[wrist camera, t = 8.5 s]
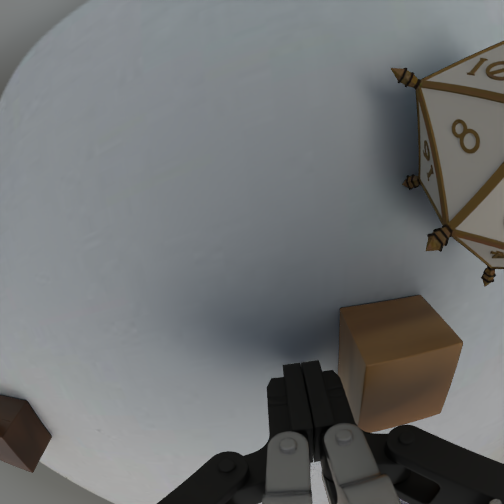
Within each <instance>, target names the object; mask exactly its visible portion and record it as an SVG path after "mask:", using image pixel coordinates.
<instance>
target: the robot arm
mask: <svg viewBox="0 0 504 504" xmlns="http://www.w3.org/2000/svg"><path fill="white" fill-rule="evenodd" d="M283 374H284V377H280V378H271V380H270V382H269V384H268V386H267V398H268V415H269V432H270V436H269V440H268V442H267V443H266V445H265V446H264V447H263V448H261V449H260V450H258V451H256V452H254V453H251V454H248V455H245V456H242V455H241V454H239V453H236V452H229V451H227V452H222V453H219V454H216V455H215V456H213V457H212V458H211V459H210V460H209V461H207V462H206V463H205V464H204V465H203V466H202V467H201V468H200V469H198V470H197V471H196V472H195V473H194V474H193V475H191V476H190V477H189V478H188V479H187V480H186V481H184V482H183V483H182V484H181V485H180V486H178V487H177V488H176V489H175V490H173V491H172V492H171V493H170V494H168V495H167V496H166V497H165V498H163V499H162V500H161V501H160V502H158V503H157V504H258V503H261V502H262V504H312V491H311V479H310V462H313V458H314V462H316V461H321V466H322V480H323V483H324V487H325V491H326V494H327V498H328V501H329V504H401V502H400V500H399V498H400V499H402V500H404V501H406V502H408V503H410V504H504V464H502V463H500V462H497V461H494V460H492V459H489V458H487V457H484V456H482V455H479V454H477V453H474V452H472V451H469V450H467V449H465V448H462V447H460V446H458V445H455V444H453V443H451V442H448V441H446V440H444V439H441V438H439V437H437V436H435V435H432V434H430V433H428V432H426V431H424V430H422V429H419V428H417V427H415V426H412V425H401V426H398V427H396V428H394V429H392V430H391V431H390V433H389V434H373V433H368V432H365V431H363V430H362V429H360V428H359V427H358V426H357V425H356V423H355V421H354V417H353V414H352V411H351V408H350V405H349V402H348V399H347V396H346V393H345V390H344V388H343V384H342V381H341V379H340V377H339V376H338V375H337V374H336V373H335V372H334V371H333V370H329V371H323V372H322V370H321V366H320V363H319V360H316V361H309V362H302V363H301V364H300V363H294V364H287V365H283Z"/></svg>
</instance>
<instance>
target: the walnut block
mask: <svg viewBox="0 0 504 504" xmlns="http://www.w3.org/2000/svg"><path fill="white" fill-rule="evenodd" d="M51 438H52V437H51V435H50V434H49V433H48V431H47V430H46V428H45V427H44V426H43V424H42V423H41V421H40V420H39V418H38V417H37V416H36V414H35V413H34V411H33V410H32V408H31V407H30V405H29V403H28V402H27V401H25V400H20V399H15V398H11V397H7V396H2V395H0V460H2V461H4V462H6V463H8V464H11V465H13V466H16V467H19V468H21V469H24V470H26V471H29V472H32V473H33V472H34V470H35V468H36V466H37V464H38V462H39V460H40V458H41V456H42V454H43V453H44V451H45V449H46V447H47V445H48V443H49V441H50V440H51Z"/></svg>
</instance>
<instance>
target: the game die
mask: <svg viewBox="0 0 504 504" xmlns="http://www.w3.org/2000/svg"><path fill="white" fill-rule="evenodd" d="M391 70H392V72H393V73H394V75H395V77H396V78H397V80H398V83H402V84H404V85H405V87H407V86H409V87H413V88H414V89H415V90H416V102H417V118H418V144H419V176H415V175H412V176H409V175H407V178H406V180H405V181H404V183H403V184H402V185H404V186H406V187H408V188H409V190H410V189H412V188H416V187H418V186H419V185H421V186H422V187H423V189H424V191H425V193H426V195H427V196H428V198H429V200H430V202H431V204H432V206H433V208H434V210H435V211H436V213H437V215H438V217H439V219H440V221H441V223H442V225H443V226H442V228H438V229H434V230H433V231H434V232H433V233H431V234H428V235H427V236H428V242H427V247H426V251H434V250H439V251H440V252H441V251H442V248H443V246H444V245H445V246H446V245H447V243H448V239H449V237H452V238H454V239H455V240H456V241H458V242H459V243H460V244H461V245H463V246H464V247H465V248H466V249H468V250H469V251H470V252H471V253H473V254H474V255H475V256H476V257H478V258H479V259H480V260H481V261H483V262H484V263H485V264H486V265H487V268H486V269H485V270H484V272H483V273H484V274H483V276H482V277H481V278H482V279H483V283H484V286H487V285H488V284H489V283H491V282H494V279H493V278H494V277H495V276H496V275H495V269H504V41H502V42H500V43H498V44H495V45H493V46H491V47H488V48H486V49H484V50H482V51H479V52H477V53H475V54H473V55H471V56H468V57H466V58H464V59H462V60H460V61H458V62H456V63H454V64H451V65H449V66H447V67H445V68H443V69H441V70H439V71H437V72H435V73H433V74H431V75H429V76H427V77H425V78H423V79H421V80H420V79H418V78H417V77H416V76H415V75H414V73H413V72H409V71H408V70H407V68H404V69H397V68H391Z"/></svg>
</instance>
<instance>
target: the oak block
mask: <svg viewBox="0 0 504 504" xmlns="http://www.w3.org/2000/svg"><path fill="white" fill-rule="evenodd" d="M462 346H463V341H462V340H461V339H460V338H459V336H458V335H457V334H456V333H455V332H454V331H453V330H452V329H451V327H450V326H449V325H448V324H447V323H446V322H445V321H444V320H443V319H442V317H441V316H440V315H439V314H438V313H437V312H436V311H435V310H434V309H433V308H432V307H431V306H430V304H429V303H428V302H427V301H426V300H425V299H424V298H423V297H422V296H421V295H417V296H411V297H406V298H400V299H394V300H389V301H383V302H376V303H370V304H364V305H357V306H351V307H344V308H340V332H339V364H338V376H339V377H340V379H341V381H342V384H343V388H344V390H345V393H346V396H347V399H348V402H349V405H350V408H351V411H352V414H353V417H354V421H355V423H356V425H357V426H358V427H359V428H360V429H362V430H363V431H365V432H368V433H371V432H376V431H380V430H384V429H388V428H392V427H396V426H400V425H403V424H407V423H410V422H414V421H417V420H421V419H424V418H427V417H430V416H433V415H436V414H439V413H441V410H442V408H443V405H444V402H445V400H446V397H447V394H448V391H449V388H450V385H451V382H452V379H453V376H454V373H455V370H456V367H457V363H458V360H459V356H460V353H461V349H462Z"/></svg>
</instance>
